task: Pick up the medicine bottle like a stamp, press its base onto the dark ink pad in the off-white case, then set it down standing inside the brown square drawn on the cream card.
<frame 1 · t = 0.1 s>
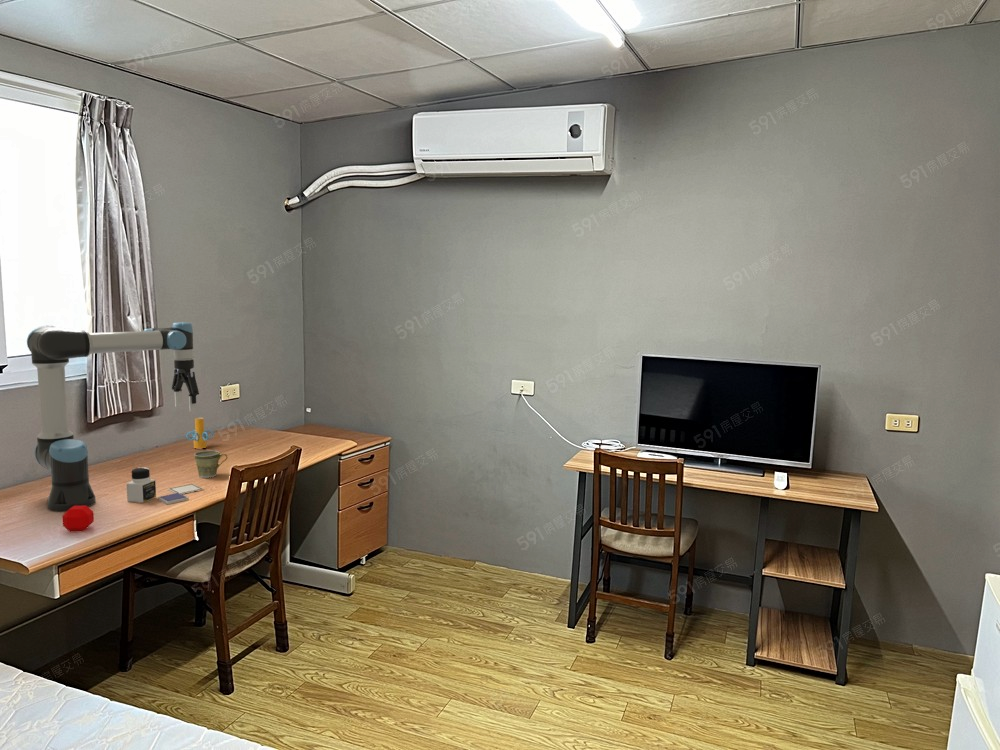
hand: (185, 408, 302), 28 cm above the table, tool pointing down, fingers open, 13 cm apart
medicine bottle: (141, 500, 269), on the table
ball: (79, 530, 237), on the table
print card: (185, 489, 282), on the table
ink pad: (173, 499, 270), on the table
ceramic cup: (211, 476, 302), on the table
cylinder: (200, 448, 349), on the table
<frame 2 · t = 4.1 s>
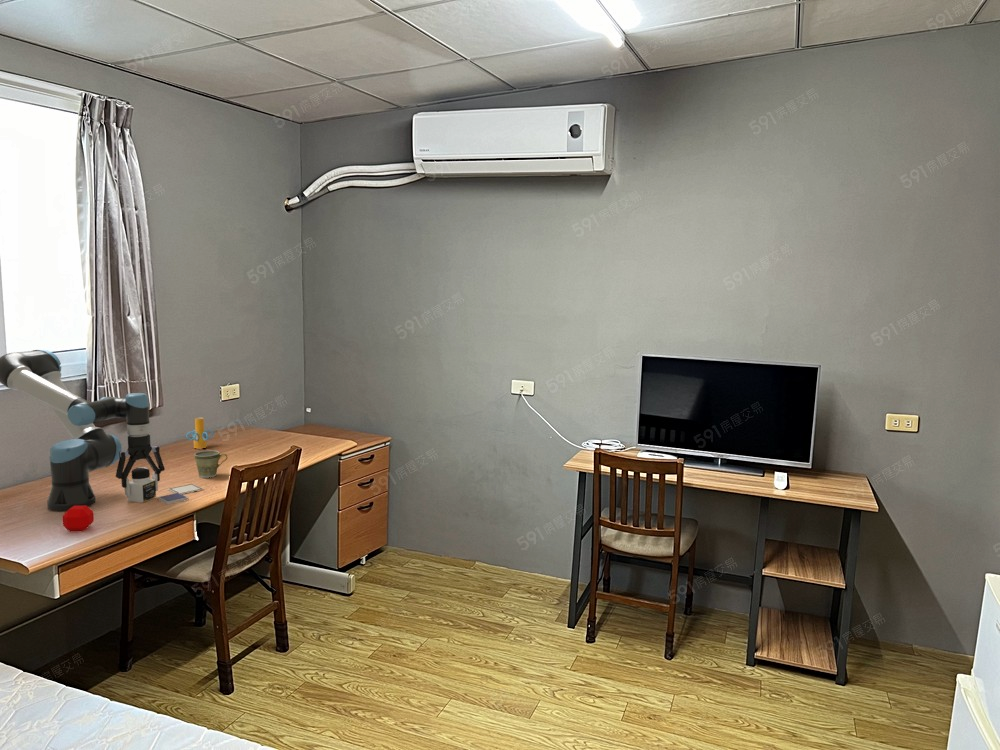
hand: (141, 492, 269), 3 cm above the table, tool pointing down, fingers closed on medicine bottle, 9 cm apart
medicine bottle: (141, 499, 269), on the table, touching gripper
everything else where it was.
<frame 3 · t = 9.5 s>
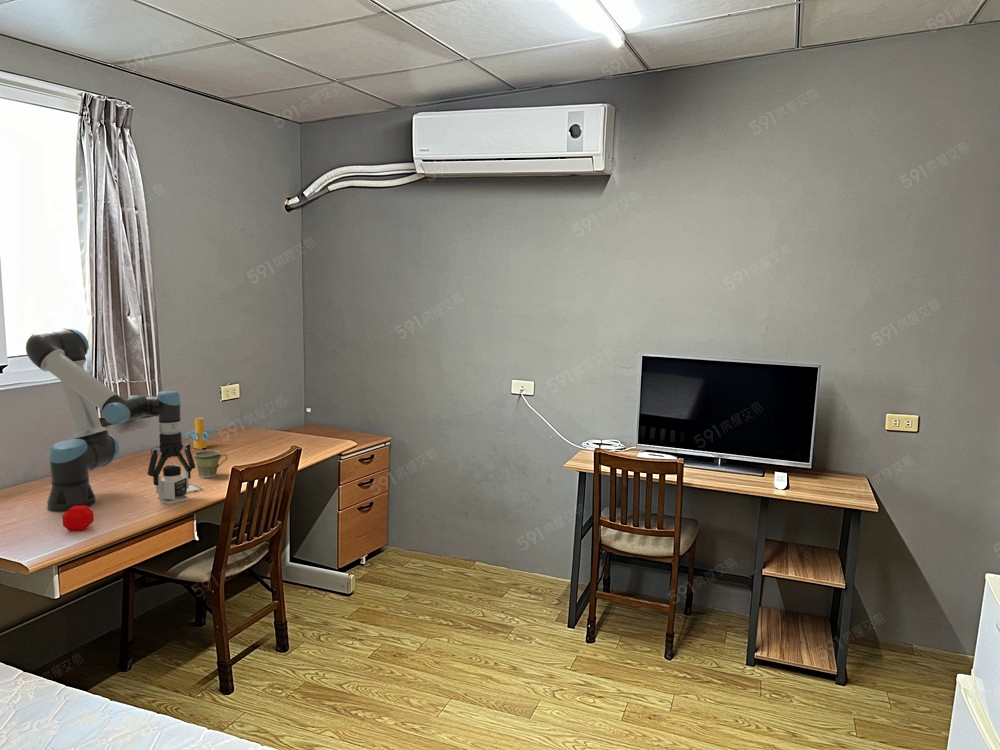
hand: (172, 490, 269), 4 cm above the table, tool pointing down, fingers closed on medicine bottle, 9 cm apart
medicine bottle: (173, 497, 269), point 1 cm above the table, touching gripper, ink pad
everything else where it was.
when the fingers open (5 cm above the table, at t = 15.0 s): medicine bottle drops 2 cm, resting on print card.
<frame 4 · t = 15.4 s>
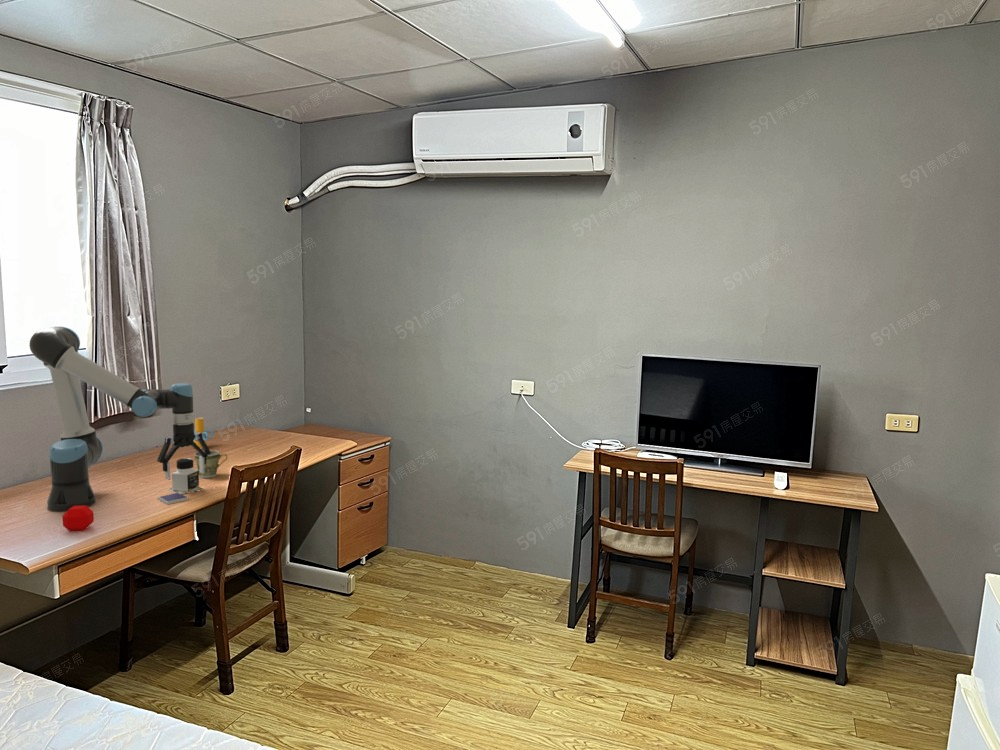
hand: (185, 475, 281), 6 cm above the table, tool pointing down, fingers open, 13 cm apart
medicine bottle: (186, 489, 282), resting on print card
everything else where it was.
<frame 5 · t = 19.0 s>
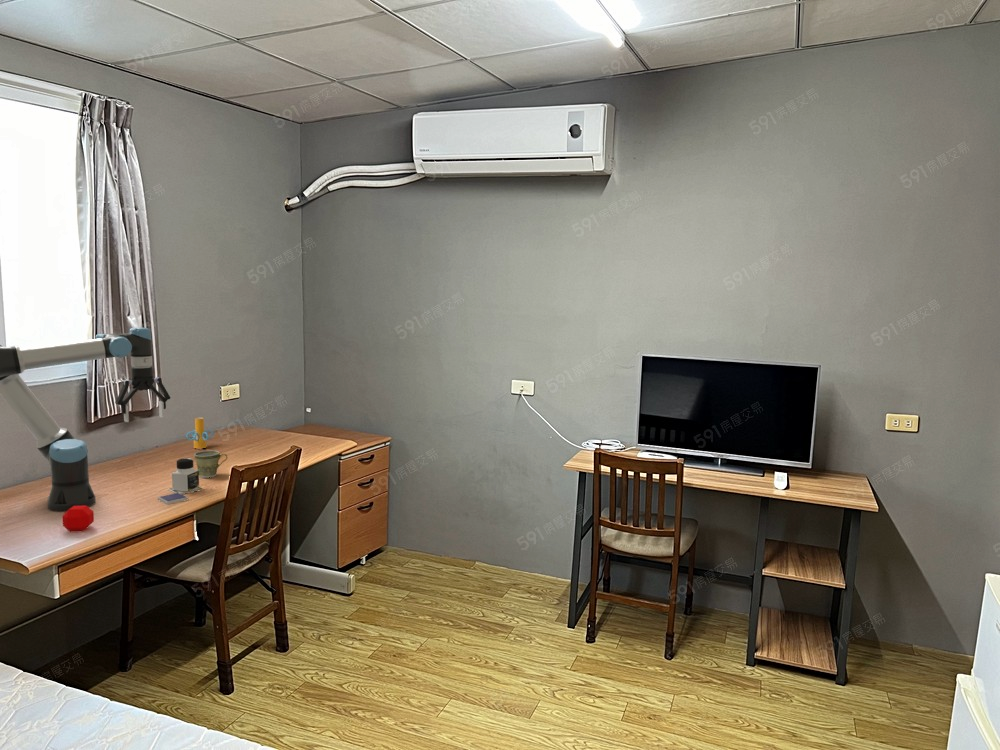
hand: (144, 419, 285), 27 cm above the table, tool pointing down, fingers open, 13 cm apart
nothing on the table moved.
at the end: medicine bottle inside the target area on the print card (0.0 cm from its centre), point 0.3 cm above the print card's base; medicine bottle tilted 0°; the gripper is holding nothing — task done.
